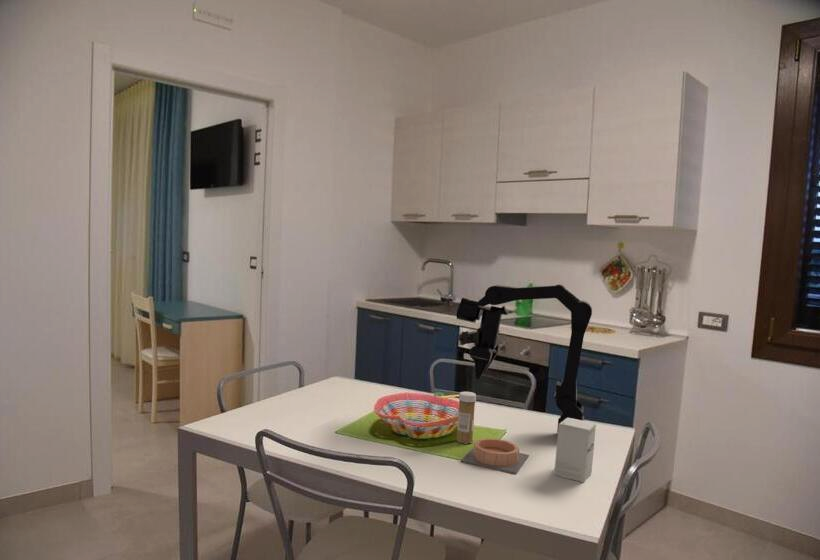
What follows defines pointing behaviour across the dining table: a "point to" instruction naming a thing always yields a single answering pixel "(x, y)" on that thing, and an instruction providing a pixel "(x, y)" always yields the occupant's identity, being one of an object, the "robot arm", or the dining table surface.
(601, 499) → the dining table surface
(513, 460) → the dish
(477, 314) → the robot arm
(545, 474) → the dining table surface
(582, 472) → the supplement box
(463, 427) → the sprinkles bottle
